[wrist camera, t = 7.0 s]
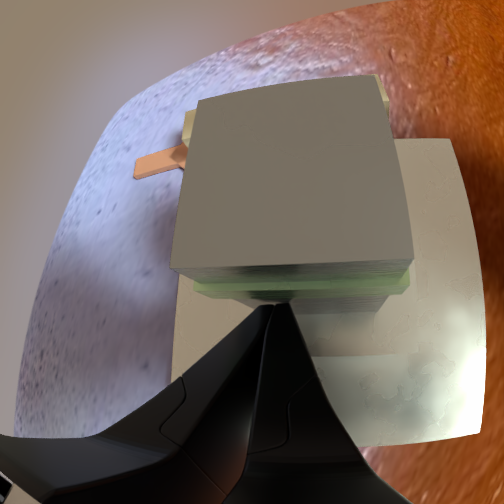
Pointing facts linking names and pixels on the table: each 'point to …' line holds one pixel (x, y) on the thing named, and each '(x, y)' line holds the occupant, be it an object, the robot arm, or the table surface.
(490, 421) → the table surface
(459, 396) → the stacked slab tower
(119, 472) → the robot arm
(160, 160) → the arrow marker
